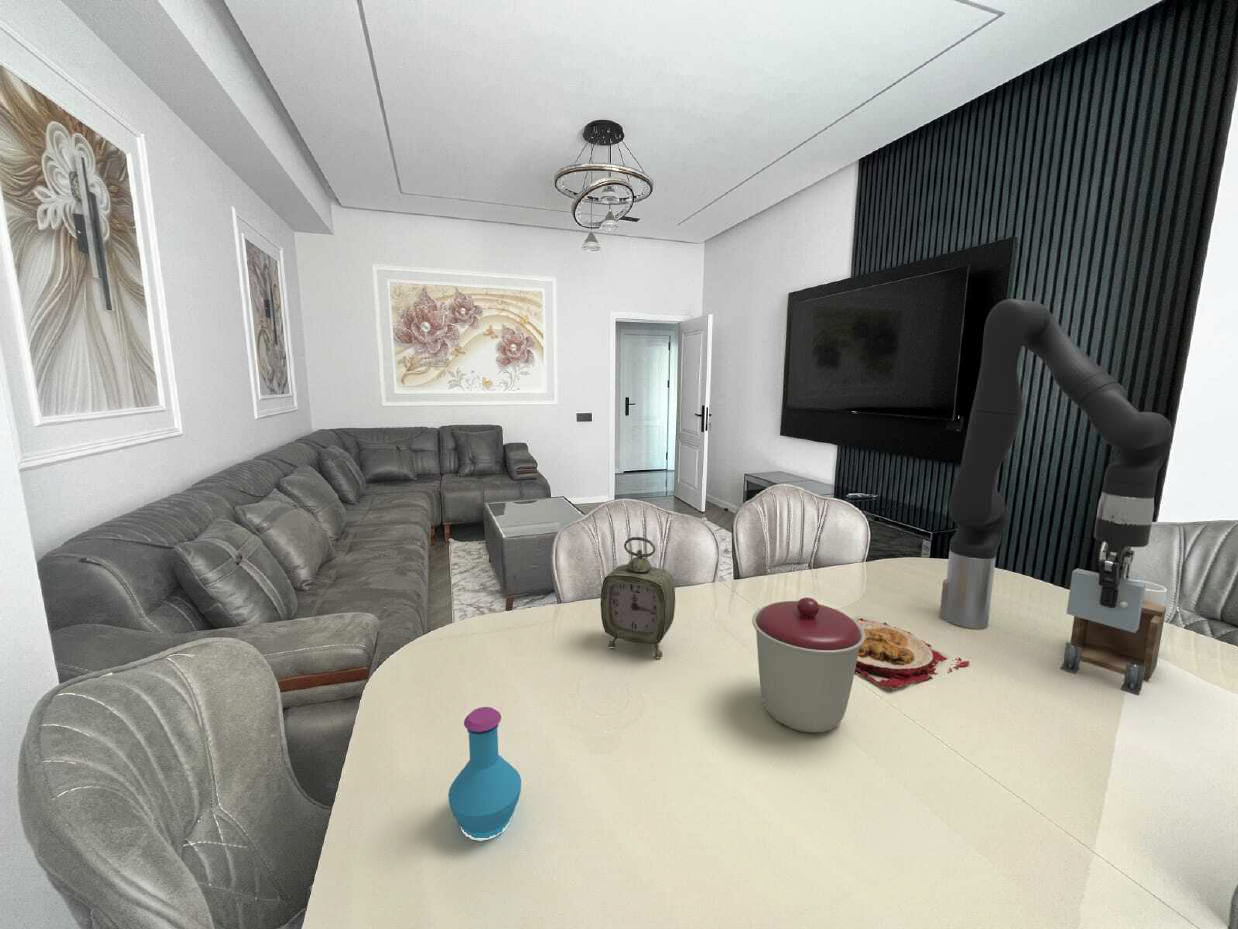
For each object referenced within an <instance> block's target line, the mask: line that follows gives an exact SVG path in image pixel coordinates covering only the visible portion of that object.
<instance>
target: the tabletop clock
mask: <svg viewBox="0 0 1238 929" xmlns="http://www.w3.org/2000/svg"><path fill="white" fill-rule="evenodd" d="M631 541H641V542H646V543H648V544H649V545H650V546H651V547H652V549H653V550H652V551H651V552H649V553H643V551H642V549H637V551H636V552H634V551H632V550H630V549H628V547H627V544H628V543H629V542H631ZM623 547H624V549H625V551H626V553H628V554H630V555H631V556H634V557H632V558H631V560H629V562H628V563H626V564H621V565H618V566H617V567H616V568H614V569H613V570H612V571H611V572H609V573H608V574H607V575H606V576H605V577H604V579H603V582H602V585H601V589H600V590H601V591H600V592H601V593H600V615H601V624H602V627H603V629H604V632H605V633H606V634H608V635H609V636H611V637H613V639H612V640H610V641H608V643H607V646H608V648H609V647H614V648H615V647H616V641H617V640H618V639H620V640H623V641H626V642H630V643H637V644H641V643H643V645H644V644H646V645H654V648H655V652H654V657H655V658H657V657H661V658H662V657H663V652H662V650H660V649H659V643H661V642H662V640H663V639H664V637H665V635H666V634H667V633H668V631H669V630H670V629H671V626H672V625H673V622H674V618H675V610H676V588H675V587H676V586H675V581H674V579H673V575H672V573H670V572H668V570H665V569H662V568H659V567H654V566H652V564H651V562H650V561H649V560H648V557H651V556H652V555H654V553H656V546H655V544H654V543H653V542H652V541H651V540H650V539H648V538H646V537H640V536H632V537H630V538H628V539H626V540H625V541H624V545H623Z"/></svg>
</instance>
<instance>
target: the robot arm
mask: <svg viewBox="0 0 1238 929" xmlns="http://www.w3.org/2000/svg"><path fill="white" fill-rule="evenodd" d="M982 339H983V341H982V350H981V362H980V367H979V374H978V379H977V384H976V388H975V394H974V398H973V403H972V407H971V411H970V414H969V415H970V416H969V419H968V420H969V421H968V424H967V425H968V426H967V431H966V436H965V437H966V438H965V441H964V448H963V452H962V458H961V459H962V460H961V464H960V468H959V471H958V475H957V478H956V480H955V484H954V487H953V488H952V489H953V490H952V492H951V495H950V498H949V501H948V512H949V514H950V517H951V519H952V520H953V521H954V523H956V524H957V526H958V527H957V529H956V531H955V533H954V535H953V536H952V537H951V539H950V541H949V552H948V561H947V571H946V572H947V573H946V578H945V579H944V580H943V581H942V586H941V587H942V588H941V598H940V607H939V618H941V619H944V620H946V622H949V623H951V624H954V625H956V626H959V627H963V628H967V629H976V630H980V629H986V628H987V627H988V626H989V621H990V611H991V603H992V592H993V585H994V584H993V583H994V575H995V566H996V559H997V551H998V549H999V546H1000V544H1001V541H1002V537H1003V536H1002V535H1003V530H1004V525H1005V518H1006V517H1005V516H1006V502H1005V499H1004V497H1003V495H1002V494H1001V493H1000V491H998V490H996V489H994V488H995V482H996V480H997V479H996V478H997V474H998V471H999V469H1000V466H1001V465H1002V463H1003V461H1004V460H1005V457H1006V456H1007V454H1008V453H1009V451H1010V449H1011V447H1012V445H1013V443H1014V441H1015V439H1016V436H1017V433H1018V430H1019V425H1020V421H1021V417H1022V413H1023V396H1022V390H1021V386H1020V382H1019V374H1018V366H1019V357H1020V353H1021V350H1022V347H1023V348H1025V349H1027V350H1029V351H1030V352H1032V354H1034V355H1036V356H1037V357H1038V358H1039V359H1040V360H1041V361H1042V362H1043V363H1044V364H1045V365H1046V368H1048V370H1049V373H1050V374H1051V376H1052V378H1053V379H1054V381H1055V383H1056V384H1057V386H1058V387H1059V388H1060V389H1061V391H1062V392H1063V393H1064V395H1066V396H1067V397H1068V398H1069V399H1070V400H1071V401H1072V402H1073V403H1074V404H1075V405H1076V406H1077V407H1079V409H1080V410H1082V411H1083V412H1084V413H1085V414H1086V416H1087V418H1088V420H1089V421H1090V423H1091V424H1092V426H1093V428H1094V429H1095V431H1097V433H1098V435H1099V436H1100V437H1101V438H1102V439H1103V440H1104V441H1105V442H1106V443H1107V444H1109V445H1110V446H1112V447H1113V448H1115V449H1118V454H1117V457H1116V460H1115V461H1114V462H1111V463H1110V464H1109V465H1107V467H1106V470H1105V473H1104V478H1103V485H1102V489H1101V496H1100V498H1099V501H1098V505H1097V513H1096V518H1095V524H1094V525H1095V526H1094V532H1093V538H1094V539H1095V540H1097V541H1100V542H1103V543H1106V544H1107V547H1105V549H1103V550H1102V551H1101V556H1100V560H1098V561H1099V562H1098V563H1099V571H1098V573H1099V582H1098V583H1099V585H1100V586H1102V592H1101V598H1100V604H1101V605H1102V606H1106V607H1110V608H1114V607H1116V602H1117V596H1118V590H1119V589H1120V582H1121V579H1127V580H1129V574H1130V573H1131V569H1132V562H1133V561H1134V559H1135V551H1134V550H1132V548H1144V547H1147V546H1148V545H1149V543H1150V537H1151V530H1152V524H1153V518H1154V517H1153V516H1154V513H1155V493H1156V488H1157V481H1158V474H1159V471H1160V469H1161V467H1162V465H1163V463H1164V461H1165V459H1166V457H1167V454H1168V451H1169V449H1170V447H1171V443H1172V441H1173V440H1172V438H1173V426H1172V424H1171V421H1170V420H1169V419H1168V418H1166V417H1165V416H1164V415H1163V414H1161V413H1157V412H1153V411H1151V412H1150V411H1139V410H1138V409H1136V408H1135V407H1134V406H1133V405H1132V403H1131V402H1130V401H1129V400H1128V392H1127V390H1126V389H1125V388H1124V386H1123V385H1121V383H1119V382H1118V381H1117V380H1116V379H1115V378H1113V377H1112V376H1111V375H1110V374H1109V373H1108V372H1107V371H1105V370H1104V369H1103V368H1102V367H1101V366H1100V365H1098V363H1096V362H1095V361H1094V360H1093V359H1092V358H1091V357H1090V356H1088V355H1087V353H1085V352H1084V351H1083V350H1082V349H1081V348H1080V347H1079V346H1078V345H1077V344H1076V343H1075V342H1074V340H1072V338H1071V337H1070V336H1069V335H1068V334H1067V333H1066V330H1064V328H1063V327H1062V325H1061V324H1060V323H1059V322H1058V321H1057V319H1056V318H1055V317H1054V315H1053V314H1052V312H1051V311H1050V310H1049V309H1048V307H1047V306H1045V305H1044V304H1042V303H1040V302H1037V301H1033V300H1025V299H1018V298H1009V299H1005V300H1002V301H1000V302H997V304H995V306H993V307H992V309H991V310H990V311H989V313H988V314H987V317H986V320H985V323H984V328H983V338H982ZM1107 578H1110V579H1112V580H1113V582H1112V581H1108V580H1107Z"/></svg>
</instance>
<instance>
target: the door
mask: <svg viewBox="0 0 1238 929" xmlns="http://www.w3.org/2000/svg"><path fill="white" fill-rule="evenodd" d="M1107 580H1108V581H1112V582H1113V580H1112V579H1110V578H1107ZM1132 580H1133V579H1121V582H1120V589H1119V590H1118V596H1117V602H1116V607H1114V608H1110V607H1106V606H1102V605H1101V604H1100V598H1101V592H1102V586H1100V585H1099V583H1098V582H1099V572H1095V571H1090V570H1085V569H1081V568H1076V569H1074V570H1072V572H1071V581H1070V586H1069V593H1068V601H1067V607H1066V608H1067V609H1066V615H1069V616H1073V617H1074V616H1076V617H1080V618H1083V619H1087V620H1090V621H1094V622H1098V623H1101V624H1105V625H1108V626H1112V627H1115V628H1119V629H1123V630H1126V631H1130V632H1133V633H1135V632H1136V631H1137V630H1138V628H1139V622H1140V616H1141V610H1142V604H1143V598H1144V592H1145V586H1146V584H1145V583H1141V582H1136V581H1132Z"/></svg>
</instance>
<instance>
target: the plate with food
mask: <svg viewBox="0 0 1238 929" xmlns="http://www.w3.org/2000/svg"><path fill="white" fill-rule="evenodd" d="M852 619H853V620H854V621H856V620H857V621H856V622H857V623H858V624H859V625H860V626H861V627H862V628H863V630H864V632H865V635H866V638H865V642H864V643H863V644H862V646H861V647H860V648H859V653H858V659H857V663H856V668H855V669H856V670H855V673H856V672H857V673H856V675H857V674H858V675H859V676H858V675H857V676H858V677H860V676H862V678H865V677H866V678H865V679H868V680H869V681H871V682H872V683H875V684H876V685H877V686H880V687H883V688H884V689H886V688H890V689H892V690H894V689H897V688H900V686H907V685H909V684H911V683H912V682H914V683H915V684H917V683H919V682H923V681H926V680H928V679H929V680H933V679H934V678H933V677H931V676H928V675H932V676H933V675H934V676H936V675H938V674H939V672H935V671H937V668H936V667H937V666H938V665H937V664H939V663H940V662H943V661H947V660H948V658H947V657H946V656H944V655H942V654H941V653H940V652H938V651H935V650H933V649H932V647H933V646H932V645H931V644H929V643H927V642H926V641H924V640H922V639H919V638H917V637H916V636H915V635H914V634H912V633H911V632H909V631H906V630H903V629H901V628H899V627H896V626H891V625H890V624H888V623H887V622H883V623H879V622H876V621H875V622H874V621H869V620H868V619H867V620H866V619H864V618H862V617H860V618H858V619H856V620H855V619H854V618H852ZM859 620H860V621H859ZM930 647H931V648H930ZM955 661H956V663H954V664H952V663H950V665H952V668H951V667H949V668H948V669H947V674H949V673H952V672H953V669H954V670H955V671H957V670H959V667H965V666H968V665H969V664H970V660H969V661H968V660H966V661H965V660H964V661H962V659H961V657H958V658H957V657H955V658H954V660H951V662H955ZM957 661H958V662H957ZM953 665H955V666H953ZM869 674H870V675H874V674H875V676H878V675H879V676H878V677H884V678H888V679H884V678H882V679H881V680H879V681H878V680H876V679H875V678H873V677H872V676H869Z"/></svg>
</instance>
